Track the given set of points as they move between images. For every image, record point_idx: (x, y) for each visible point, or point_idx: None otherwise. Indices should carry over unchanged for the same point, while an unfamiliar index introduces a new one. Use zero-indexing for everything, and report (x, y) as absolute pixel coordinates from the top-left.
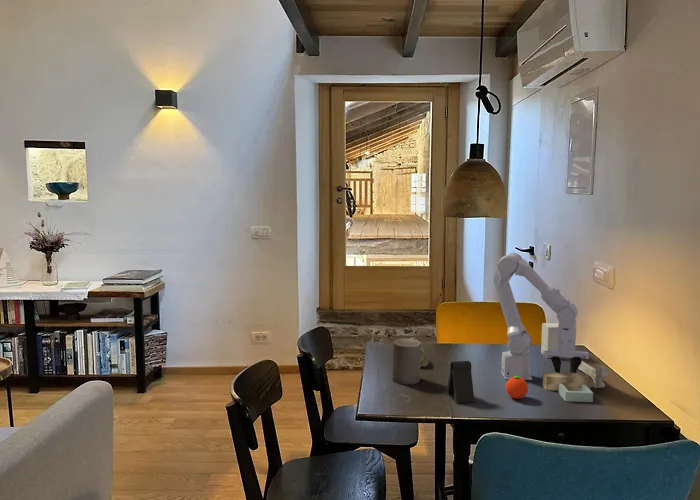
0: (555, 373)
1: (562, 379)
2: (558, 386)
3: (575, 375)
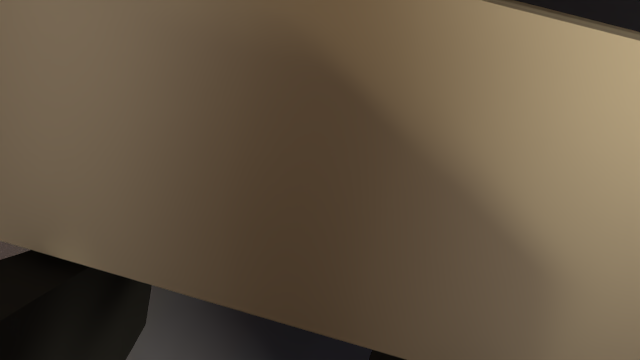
0: (609, 341)
1: (565, 19)
2: (605, 25)
3: (89, 67)
